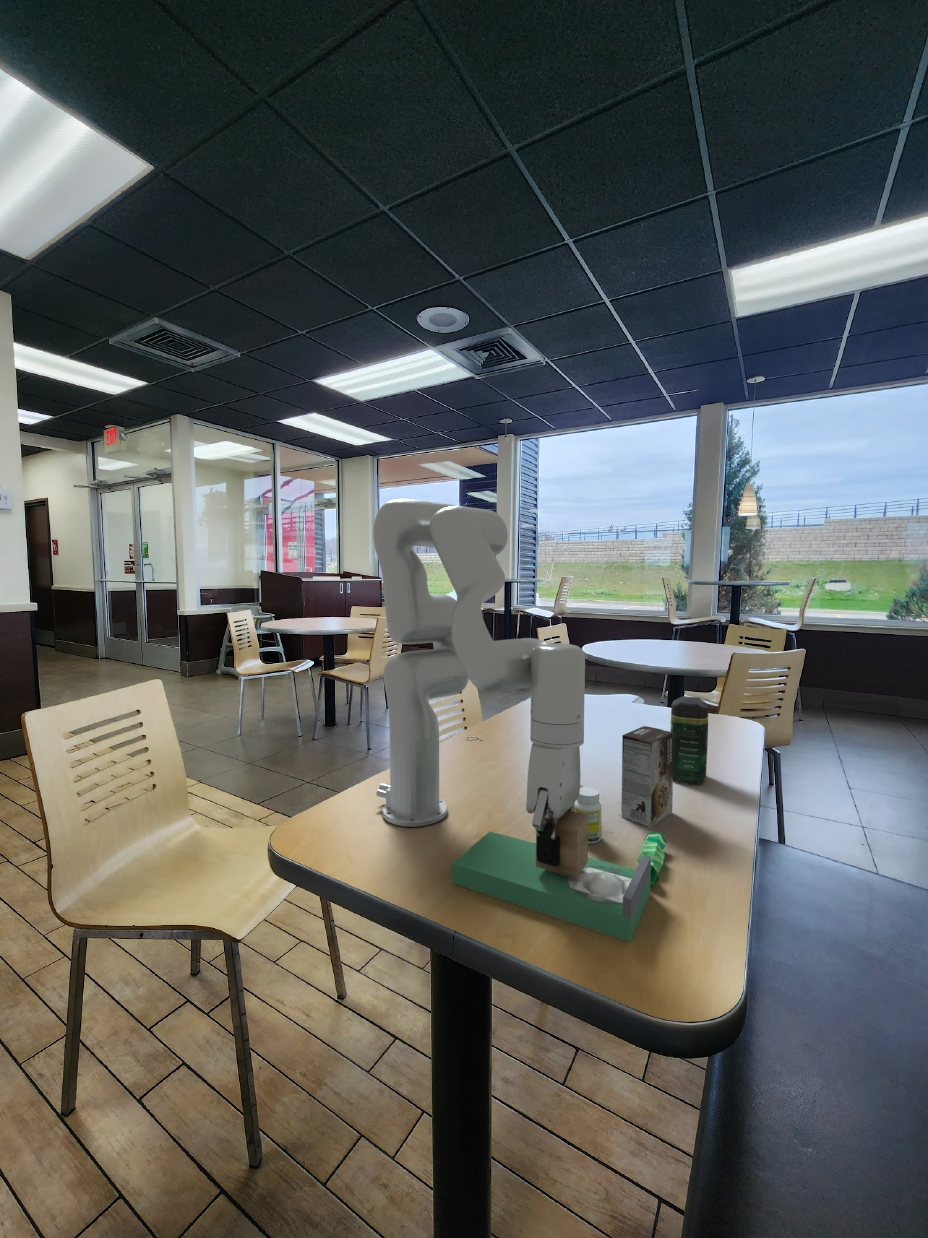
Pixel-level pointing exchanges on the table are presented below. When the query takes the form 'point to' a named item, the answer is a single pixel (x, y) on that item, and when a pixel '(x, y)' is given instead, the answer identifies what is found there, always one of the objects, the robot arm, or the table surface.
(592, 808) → the supplement bottle
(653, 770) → the coffee box
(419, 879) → the table surface
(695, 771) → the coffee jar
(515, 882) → the board
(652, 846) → the candy
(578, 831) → the block
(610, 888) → the ball
